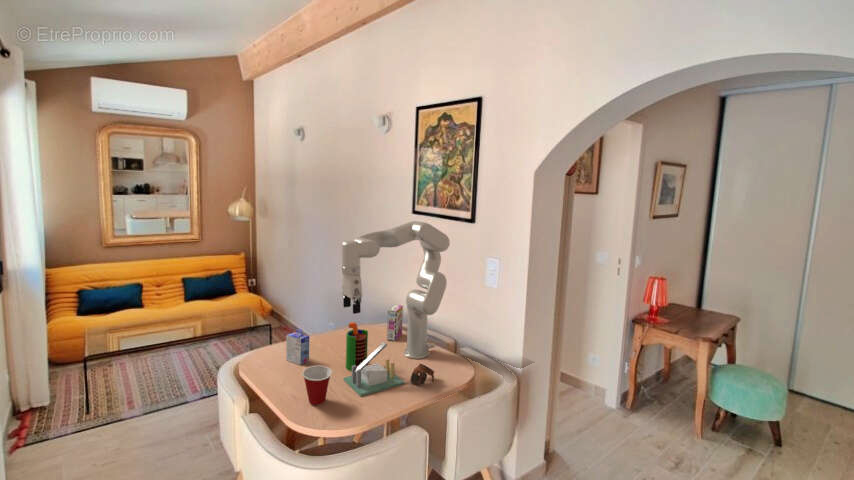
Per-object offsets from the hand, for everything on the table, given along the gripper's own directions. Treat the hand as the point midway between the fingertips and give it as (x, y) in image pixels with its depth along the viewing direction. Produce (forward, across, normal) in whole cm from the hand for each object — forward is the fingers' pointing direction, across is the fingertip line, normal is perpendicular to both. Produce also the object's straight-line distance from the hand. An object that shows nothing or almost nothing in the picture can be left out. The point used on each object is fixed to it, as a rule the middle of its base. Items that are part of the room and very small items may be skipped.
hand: (351, 309), depth 181 cm
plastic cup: (+28, -16, +21) cm, 39 cm away
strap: (+18, -12, -3) cm, 22 cm away
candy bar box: (+29, +27, -36) cm, 54 cm away
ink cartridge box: (+28, +23, +16) cm, 40 cm away
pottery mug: (+29, -23, -21) cm, 42 cm away
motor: (+29, +5, -4) cm, 29 cm away
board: (+28, -12, -4) cm, 31 cm away
